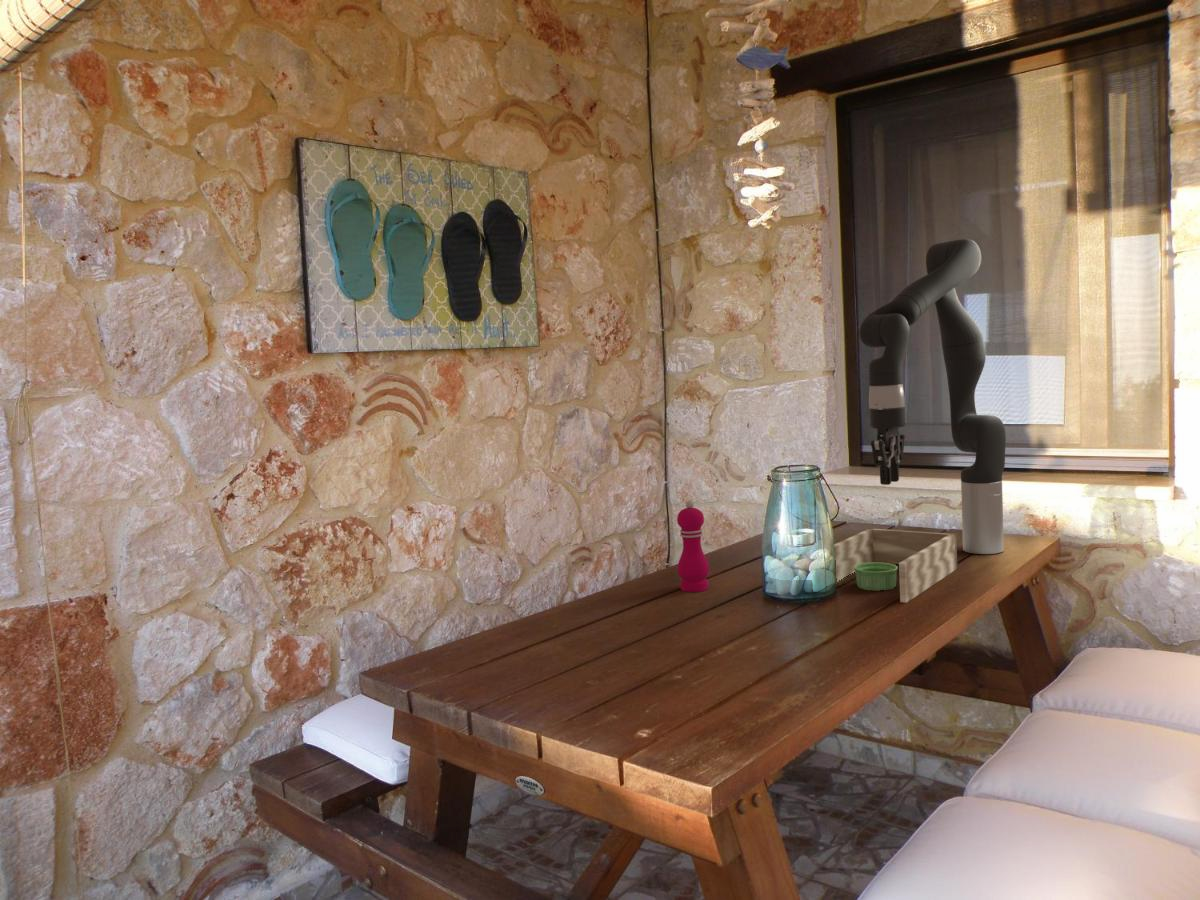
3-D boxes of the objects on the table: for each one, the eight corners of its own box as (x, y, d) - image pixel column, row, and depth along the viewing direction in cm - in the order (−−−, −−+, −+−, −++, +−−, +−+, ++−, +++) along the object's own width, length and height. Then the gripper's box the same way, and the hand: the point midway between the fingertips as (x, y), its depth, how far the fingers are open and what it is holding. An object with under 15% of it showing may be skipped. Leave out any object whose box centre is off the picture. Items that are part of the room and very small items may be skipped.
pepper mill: (710, 584, 208) (705, 497, 206) (711, 592, 201) (706, 502, 199) (678, 585, 208) (673, 499, 207) (678, 593, 201) (673, 504, 199)
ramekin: (904, 590, 192) (903, 570, 192) (861, 593, 192) (861, 572, 192) (890, 580, 201) (889, 560, 200) (849, 583, 201) (849, 563, 200)
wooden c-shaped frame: (870, 561, 220) (869, 528, 219) (957, 568, 207) (956, 534, 206) (812, 592, 195) (810, 555, 194) (906, 602, 182) (904, 563, 181)
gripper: (882, 403, 208) (885, 478, 210) (857, 408, 197) (860, 487, 199) (915, 402, 203) (918, 479, 205) (891, 408, 192) (894, 488, 194)
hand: (889, 482), depth 202 cm, fingers open, 4 cm apart
